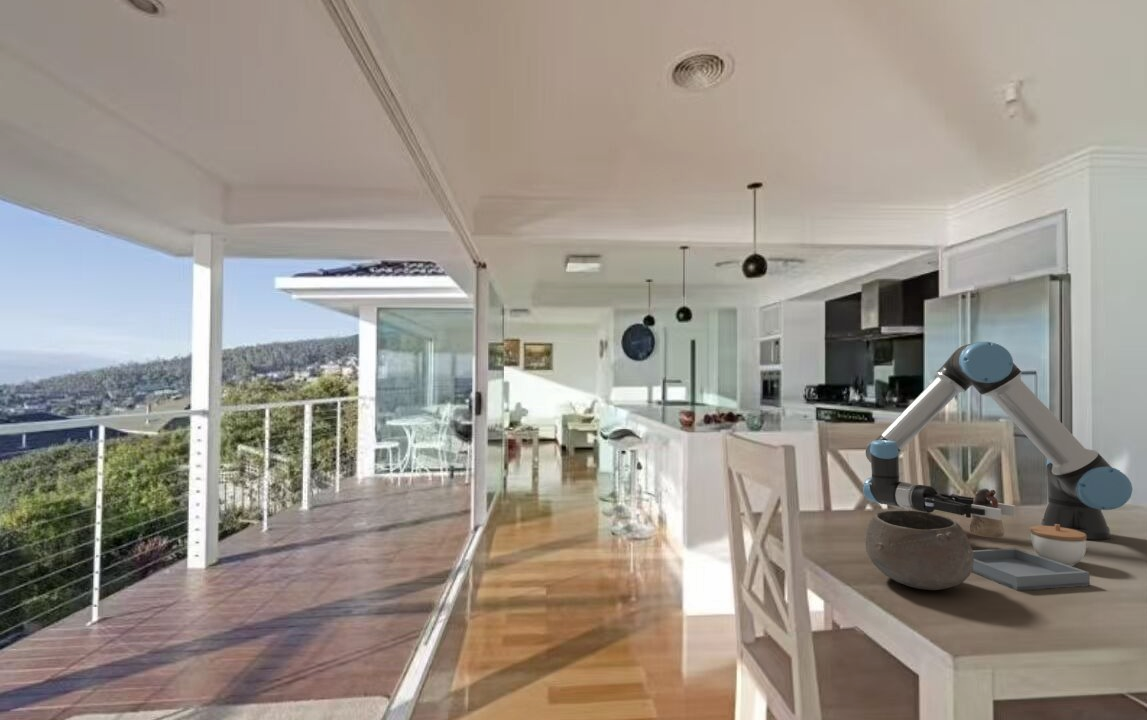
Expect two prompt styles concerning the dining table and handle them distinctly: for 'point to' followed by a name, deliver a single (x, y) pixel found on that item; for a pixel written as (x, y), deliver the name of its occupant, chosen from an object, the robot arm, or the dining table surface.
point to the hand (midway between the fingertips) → (1007, 512)
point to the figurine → (986, 525)
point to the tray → (1026, 570)
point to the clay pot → (919, 549)
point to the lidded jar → (1059, 543)
